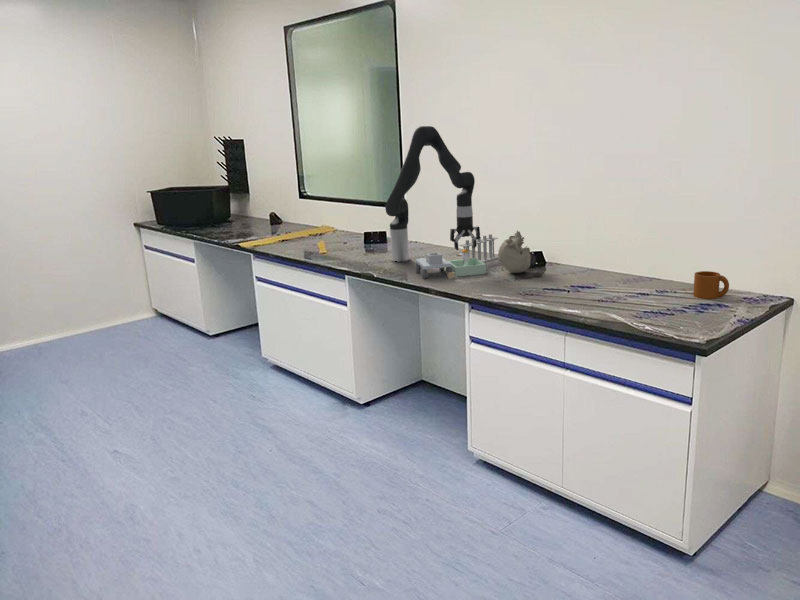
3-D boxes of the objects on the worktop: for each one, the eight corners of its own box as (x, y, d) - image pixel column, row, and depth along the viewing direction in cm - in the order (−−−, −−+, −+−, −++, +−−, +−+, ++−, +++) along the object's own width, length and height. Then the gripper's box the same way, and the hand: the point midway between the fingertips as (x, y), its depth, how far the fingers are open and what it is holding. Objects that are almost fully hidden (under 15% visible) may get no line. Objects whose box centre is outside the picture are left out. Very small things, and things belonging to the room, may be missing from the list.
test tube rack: (466, 268, 309) (465, 241, 306) (459, 266, 312) (459, 240, 309) (498, 258, 325) (498, 233, 322) (491, 257, 328) (491, 232, 325)
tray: (447, 269, 307) (446, 261, 306) (475, 266, 310) (475, 257, 309) (455, 276, 293) (455, 267, 292) (486, 273, 296) (486, 264, 295)
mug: (723, 301, 234) (725, 278, 231) (690, 297, 241) (691, 275, 239) (730, 295, 240) (732, 273, 237) (697, 291, 248) (698, 269, 245)
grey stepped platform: (415, 271, 308) (414, 250, 305) (443, 268, 310) (442, 247, 307) (425, 281, 288) (424, 259, 286) (455, 277, 291) (454, 255, 288)
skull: (530, 276, 286) (530, 233, 281) (497, 276, 290) (497, 233, 284) (530, 269, 298) (530, 228, 293) (499, 269, 301) (498, 228, 296)
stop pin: (462, 269, 302) (461, 249, 300) (467, 269, 303) (467, 249, 300) (464, 271, 300) (463, 250, 297) (469, 270, 300) (469, 250, 297)
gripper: (476, 213, 299) (477, 246, 303) (447, 215, 296) (449, 249, 301) (481, 215, 292) (482, 249, 296) (452, 217, 289) (453, 252, 294)
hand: (465, 249), depth 298 cm, fingers open, 8 cm apart
